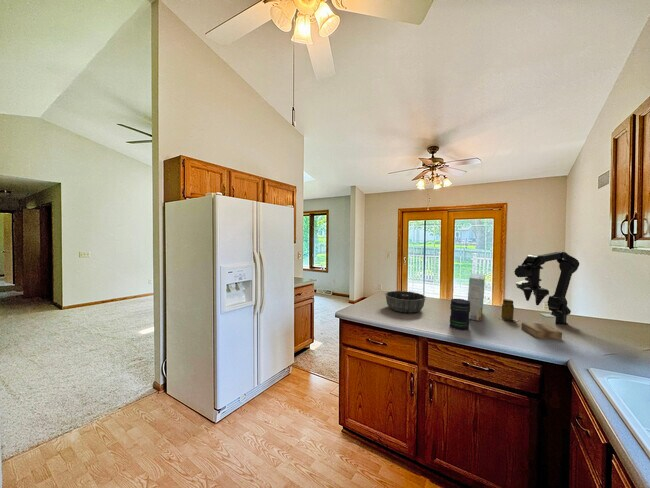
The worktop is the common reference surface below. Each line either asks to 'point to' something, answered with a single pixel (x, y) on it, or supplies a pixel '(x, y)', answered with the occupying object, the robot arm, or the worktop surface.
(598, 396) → the worktop surface
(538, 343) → the worktop surface
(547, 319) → the cream block
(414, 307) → the bundt pan
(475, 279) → the snack box
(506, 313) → the condiment
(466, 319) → the storage jar
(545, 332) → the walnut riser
